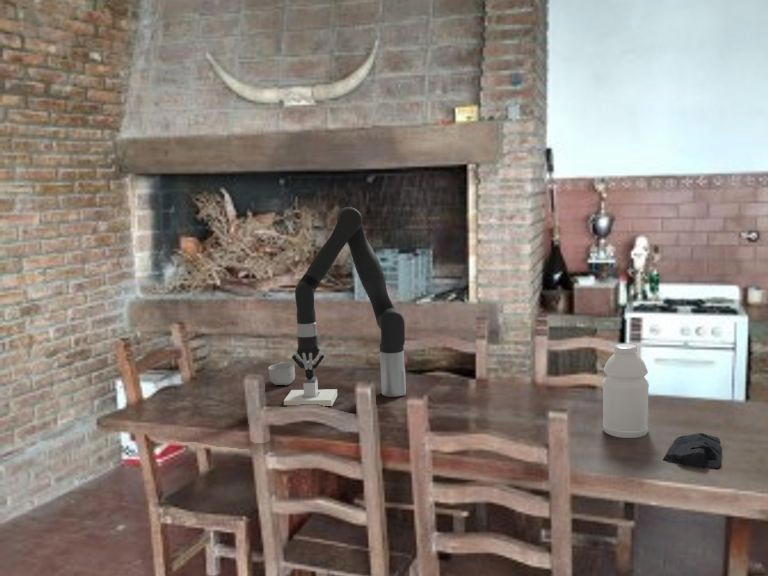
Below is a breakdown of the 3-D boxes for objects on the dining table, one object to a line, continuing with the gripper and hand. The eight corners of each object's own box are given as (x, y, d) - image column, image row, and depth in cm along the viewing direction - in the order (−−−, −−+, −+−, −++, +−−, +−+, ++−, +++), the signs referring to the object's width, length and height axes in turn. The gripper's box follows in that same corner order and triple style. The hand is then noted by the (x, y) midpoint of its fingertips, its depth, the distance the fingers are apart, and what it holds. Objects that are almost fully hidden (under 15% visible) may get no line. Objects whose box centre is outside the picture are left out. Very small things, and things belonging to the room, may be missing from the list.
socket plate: (337, 395, 293) (337, 389, 293) (331, 406, 280) (331, 400, 279) (292, 396, 295) (291, 389, 295) (284, 407, 281) (283, 400, 281)
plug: (318, 399, 290) (317, 376, 289) (316, 403, 285) (314, 380, 283) (307, 399, 290) (305, 376, 289) (304, 403, 285) (303, 380, 284)
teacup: (293, 387, 308) (292, 368, 306) (267, 388, 308) (266, 369, 307) (298, 378, 321) (297, 359, 320) (272, 379, 322) (271, 360, 321)
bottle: (594, 432, 240) (593, 347, 236) (615, 421, 250) (615, 338, 246) (635, 442, 230) (636, 353, 226) (656, 430, 240) (657, 344, 236)
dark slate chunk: (728, 446, 225) (728, 430, 224) (719, 472, 207) (719, 456, 206) (674, 439, 233) (674, 424, 232) (660, 464, 214) (660, 448, 214)
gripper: (326, 331, 286) (328, 375, 289) (292, 332, 288) (294, 376, 290) (322, 336, 279) (325, 381, 282) (287, 336, 280) (290, 381, 283)
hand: (309, 378), depth 286 cm, fingers closed
